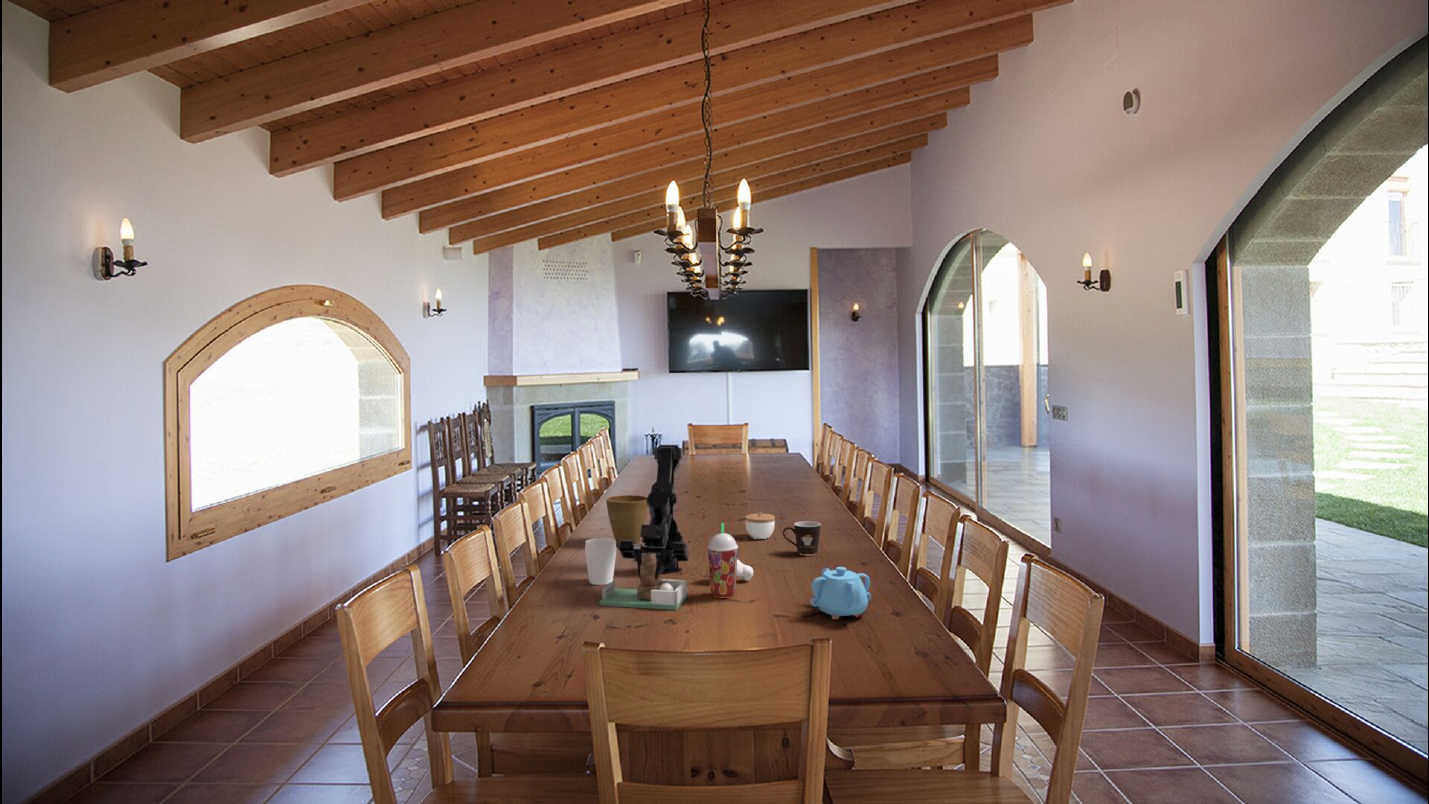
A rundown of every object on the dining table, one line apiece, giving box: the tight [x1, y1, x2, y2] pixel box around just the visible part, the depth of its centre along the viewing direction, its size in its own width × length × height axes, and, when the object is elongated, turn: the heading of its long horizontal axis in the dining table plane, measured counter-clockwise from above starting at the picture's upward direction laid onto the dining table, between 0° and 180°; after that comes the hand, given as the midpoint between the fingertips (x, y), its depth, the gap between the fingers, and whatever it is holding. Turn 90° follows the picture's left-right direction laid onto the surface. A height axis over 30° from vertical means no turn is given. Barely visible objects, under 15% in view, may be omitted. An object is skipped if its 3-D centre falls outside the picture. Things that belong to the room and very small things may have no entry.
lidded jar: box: [744, 511, 776, 540], centre depth 286 cm, size 11×11×9 cm
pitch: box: [599, 578, 689, 611], centre depth 214 cm, size 21×12×4 cm, turn 78°
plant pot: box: [605, 494, 649, 546], centre depth 279 cm, size 15×15×16 cm
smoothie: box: [707, 522, 739, 598], centre depth 218 cm, size 8×8×20 cm
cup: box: [584, 537, 617, 586], centre depth 232 cm, size 9×9×12 cm
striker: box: [636, 553, 662, 600], centre depth 214 cm, size 5×6×12 cm
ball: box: [659, 583, 674, 591], centre depth 213 cm, size 4×4×4 cm
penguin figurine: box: [736, 558, 754, 582], centre depth 232 cm, size 6×8×12 cm
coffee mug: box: [782, 520, 822, 554], centre depth 263 cm, size 12×9×10 cm
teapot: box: [809, 566, 872, 617], centre depth 203 cm, size 20×17×12 cm
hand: (647, 578), depth 212 cm, fingers closed on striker, 4 cm apart
